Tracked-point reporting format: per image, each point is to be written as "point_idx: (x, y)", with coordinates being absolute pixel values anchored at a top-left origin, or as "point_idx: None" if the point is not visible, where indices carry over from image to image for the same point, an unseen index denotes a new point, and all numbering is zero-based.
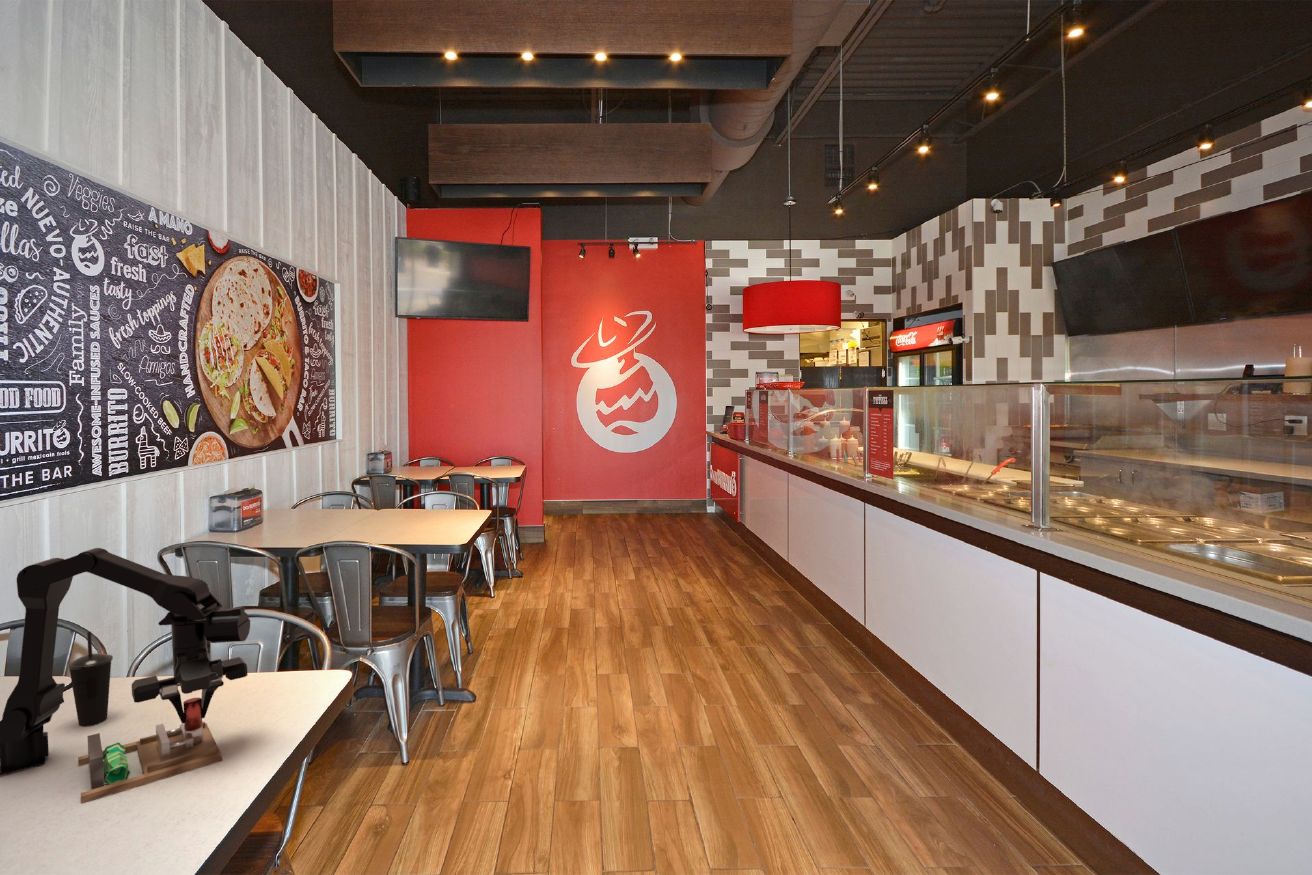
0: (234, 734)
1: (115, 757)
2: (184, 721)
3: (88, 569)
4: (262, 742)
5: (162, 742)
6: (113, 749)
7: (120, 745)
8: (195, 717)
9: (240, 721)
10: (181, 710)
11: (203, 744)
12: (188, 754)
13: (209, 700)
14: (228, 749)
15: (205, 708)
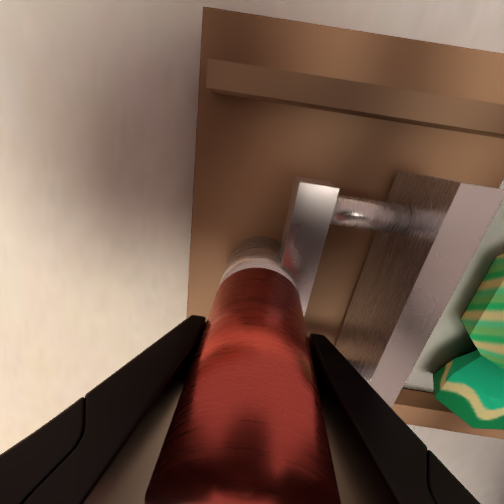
0: (122, 262)
1: None
2: (312, 339)
3: None
4: (27, 80)
5: (491, 206)
6: (501, 398)
7: (466, 409)
8: (253, 314)
9: (93, 342)
10: (367, 424)
11: (236, 224)
12: (344, 104)
13: (75, 413)
14: (163, 139)
15: (160, 356)
